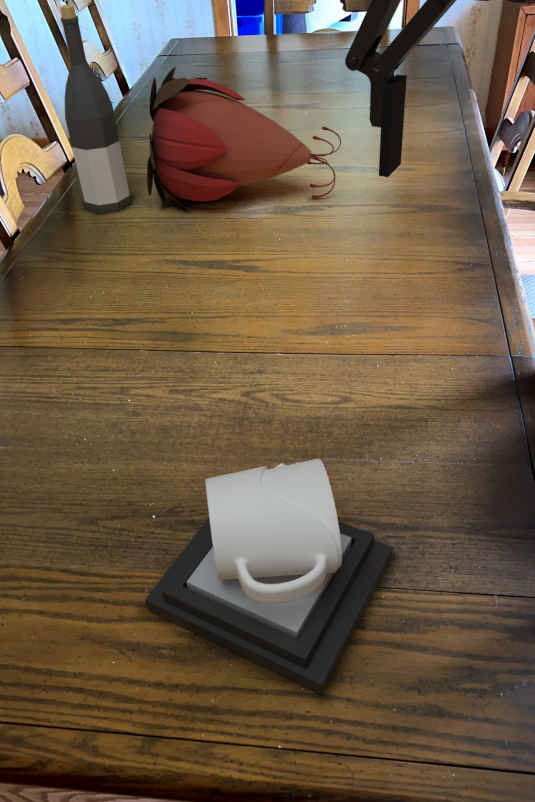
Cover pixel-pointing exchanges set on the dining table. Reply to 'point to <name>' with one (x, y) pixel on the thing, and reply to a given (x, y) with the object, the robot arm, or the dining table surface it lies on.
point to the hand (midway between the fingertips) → (478, 184)
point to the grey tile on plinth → (277, 616)
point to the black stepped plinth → (263, 644)
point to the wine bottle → (92, 128)
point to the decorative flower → (215, 142)
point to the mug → (275, 528)
